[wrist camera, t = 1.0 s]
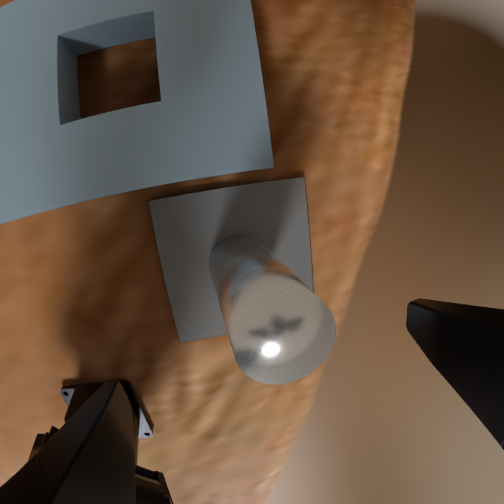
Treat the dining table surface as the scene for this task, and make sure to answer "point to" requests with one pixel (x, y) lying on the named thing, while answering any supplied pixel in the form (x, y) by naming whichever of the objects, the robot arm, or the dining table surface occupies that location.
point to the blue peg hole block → (132, 118)
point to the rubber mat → (217, 228)
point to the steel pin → (269, 312)
